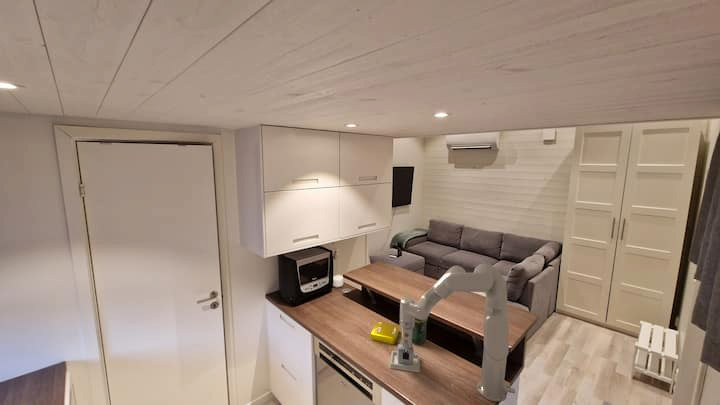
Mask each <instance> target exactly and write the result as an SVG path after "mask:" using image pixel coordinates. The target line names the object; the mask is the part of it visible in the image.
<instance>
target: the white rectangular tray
mask: <svg viewBox="0 0 720 405" xmlns="http://www.w3.org/2000/svg"><path fill="white" fill-rule="evenodd" d="M389 362H390V363H389V369H393V370H394V369H395V370H401V371H408V372H416V373H421V366H420V363H421V362H420V354H419V353H414V356H413V364H398V361H397V350H391V354H390V361H389Z"/></svg>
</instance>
